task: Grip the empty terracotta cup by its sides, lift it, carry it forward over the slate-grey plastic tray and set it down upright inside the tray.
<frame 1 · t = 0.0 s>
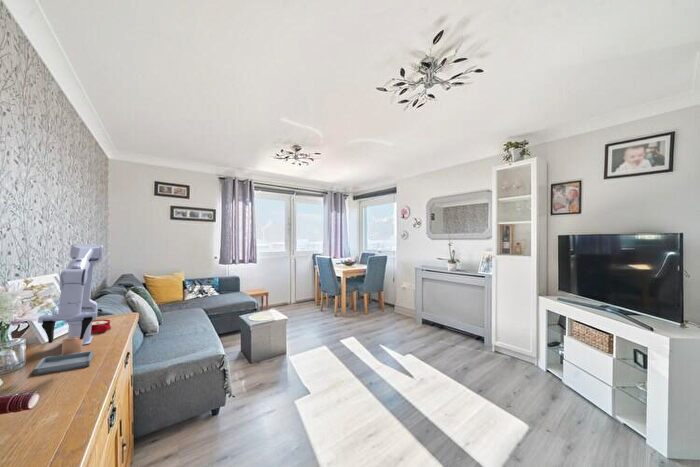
hand: (66, 340, 95), 10 cm above the sideboard, tool pointing down, fingers open, 7 cm apart
tray: (65, 364, 98), on the sideboard
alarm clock: (95, 331, 132), on the sideboard
cup: (71, 355, 105), on the sideboard
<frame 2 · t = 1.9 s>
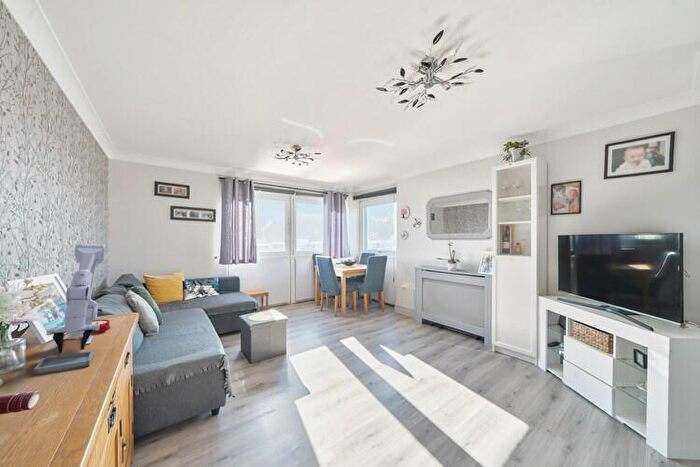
hand: (71, 350, 105), 2 cm above the sideboard, tool pointing down, fingers closed on cup, 6 cm apart
cup: (71, 355, 105), on the sideboard, touching gripper
everything else where it was.
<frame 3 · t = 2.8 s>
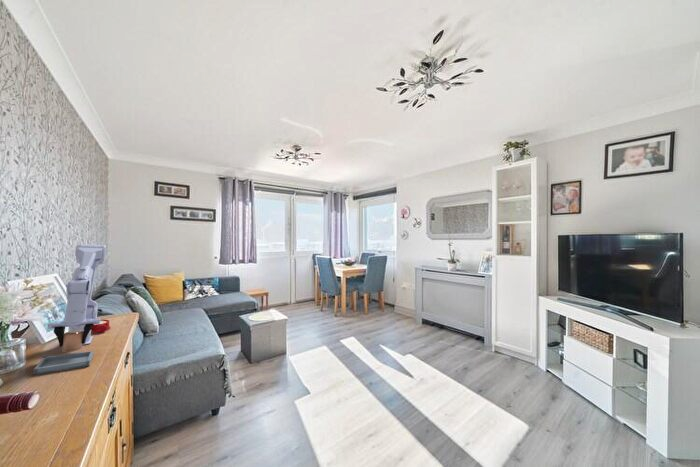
hand: (72, 344, 105), 4 cm above the sideboard, tool pointing down, fingers closed on cup, 6 cm apart
cup: (72, 349, 105), point 2 cm above the sideboard, touching gripper
everything else where it was.
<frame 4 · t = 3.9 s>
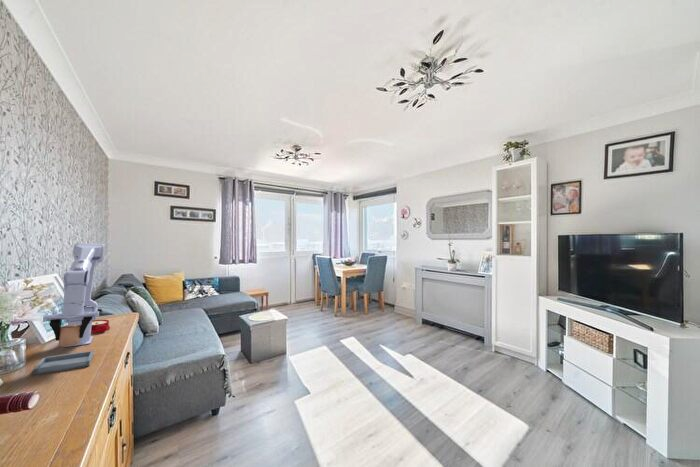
hand: (69, 338, 100), 9 cm above the sideboard, tool pointing down, fingers closed on cup, 6 cm apart
cup: (69, 343, 100), point 7 cm above the sideboard, touching gripper
everything else where it was.
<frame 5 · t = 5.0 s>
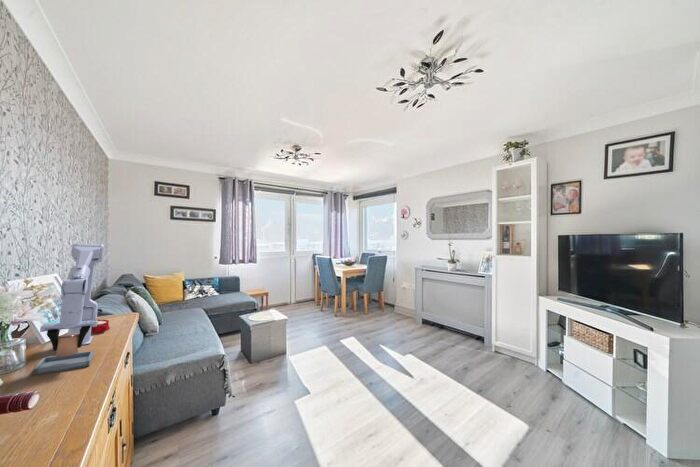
hand: (67, 348, 98), 6 cm above the sideboard, tool pointing down, fingers closed on cup, 6 cm apart
cup: (67, 353, 98), point 4 cm above the sideboard, touching gripper
everything else where it was.
when the fingers open (3 cm above the sideboard, at t = 6.0 s): cup stays where it is, resting on tray.
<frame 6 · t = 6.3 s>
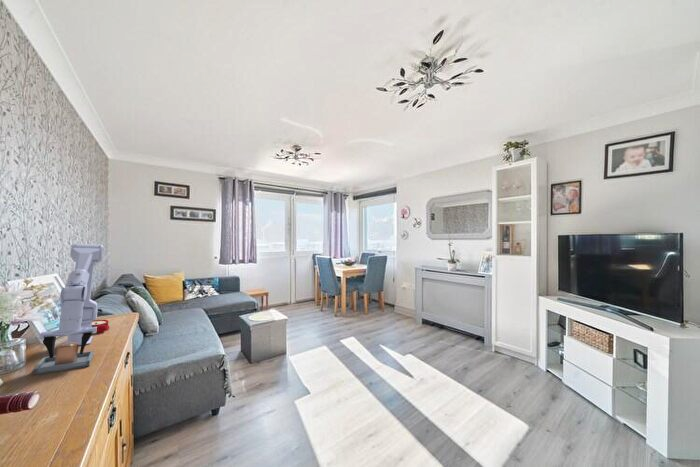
hand: (66, 355, 98), 3 cm above the sideboard, tool pointing down, fingers open, 7 cm apart
cup: (65, 362, 98), point 1 cm above the sideboard, touching tray
everything else where it was.
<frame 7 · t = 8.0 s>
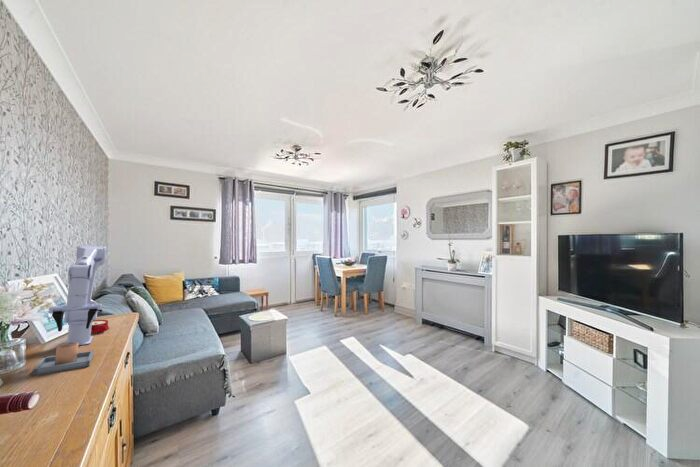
hand: (74, 329, 105), 10 cm above the sideboard, tool pointing down, fingers open, 7 cm apart
nothing on the sideboard moved.
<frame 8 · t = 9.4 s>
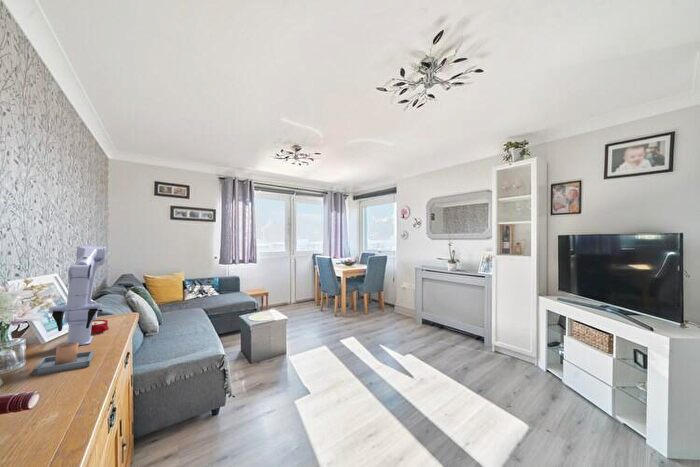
hand: (74, 329, 105), 10 cm above the sideboard, tool pointing down, fingers open, 7 cm apart
nothing on the sideboard moved.
at the end: cup 0.0 cm off-centre on the tray, point 0.6 cm above the tray's base; cup tilted 0°; the gripper is holding nothing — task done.
